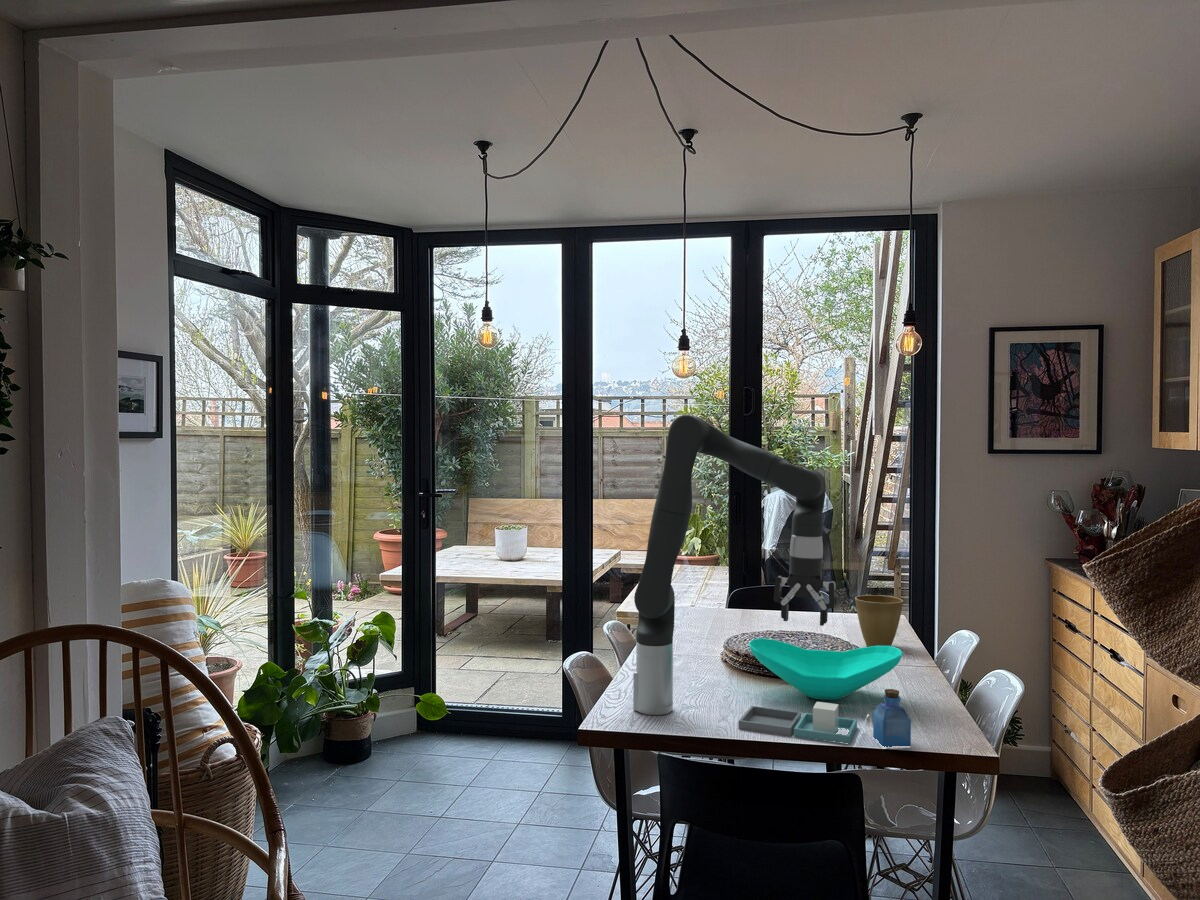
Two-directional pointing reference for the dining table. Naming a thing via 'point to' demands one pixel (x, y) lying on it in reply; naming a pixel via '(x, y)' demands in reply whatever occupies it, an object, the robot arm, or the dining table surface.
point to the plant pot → (878, 618)
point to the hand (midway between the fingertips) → (803, 622)
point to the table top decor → (825, 667)
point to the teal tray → (806, 731)
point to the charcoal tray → (769, 720)
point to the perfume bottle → (891, 721)
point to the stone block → (825, 717)
